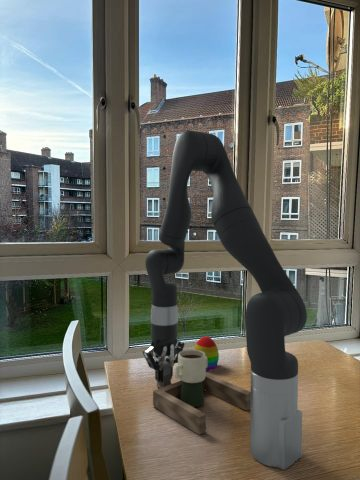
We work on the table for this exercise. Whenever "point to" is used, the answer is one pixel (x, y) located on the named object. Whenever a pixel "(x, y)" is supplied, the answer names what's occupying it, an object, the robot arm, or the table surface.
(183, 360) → the character mug
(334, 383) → the table surface
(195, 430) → the frame
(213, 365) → the decorative egg
